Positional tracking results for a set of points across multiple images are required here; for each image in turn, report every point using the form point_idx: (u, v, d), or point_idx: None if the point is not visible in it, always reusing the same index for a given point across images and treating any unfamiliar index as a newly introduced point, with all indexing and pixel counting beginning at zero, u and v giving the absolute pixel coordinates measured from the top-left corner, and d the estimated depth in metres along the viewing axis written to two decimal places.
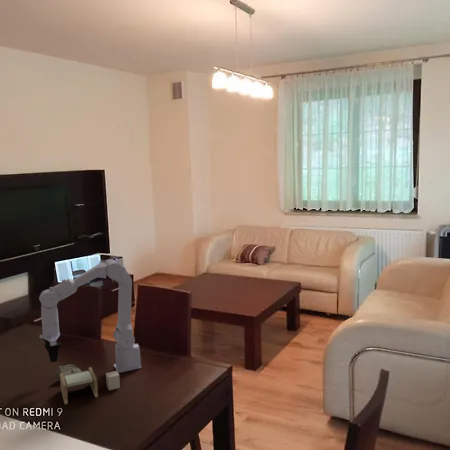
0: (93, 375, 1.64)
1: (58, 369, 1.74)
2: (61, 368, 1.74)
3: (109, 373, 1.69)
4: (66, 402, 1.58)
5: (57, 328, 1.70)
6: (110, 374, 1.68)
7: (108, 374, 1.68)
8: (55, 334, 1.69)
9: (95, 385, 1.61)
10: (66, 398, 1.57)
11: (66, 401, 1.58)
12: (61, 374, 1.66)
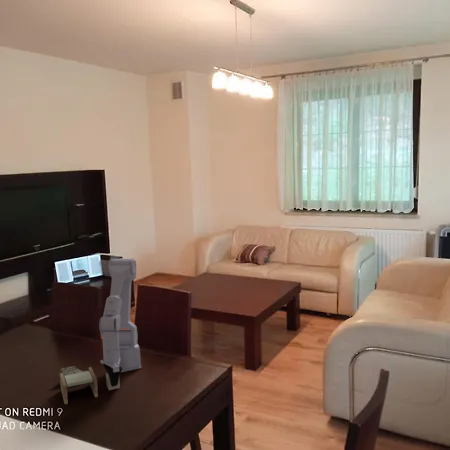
0: (93, 375, 1.64)
1: (60, 371, 1.72)
2: (63, 370, 1.72)
3: None
4: (66, 402, 1.58)
5: (118, 353, 1.67)
6: None
7: None
8: (116, 360, 1.66)
9: (95, 385, 1.61)
10: (66, 398, 1.57)
11: (66, 401, 1.58)
12: (61, 374, 1.66)
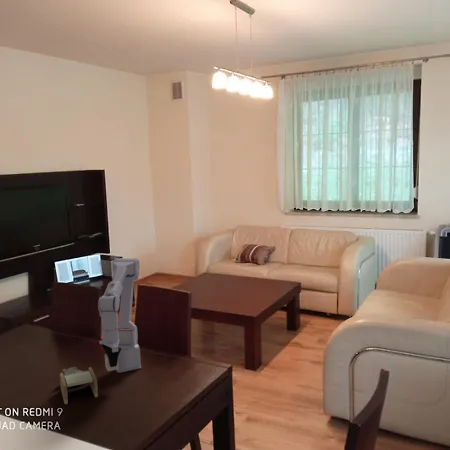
0: (93, 375, 1.64)
1: None
2: (65, 371, 1.71)
3: None
4: (66, 402, 1.58)
5: (117, 334, 1.66)
6: None
7: None
8: (115, 340, 1.65)
9: (95, 385, 1.61)
10: (66, 398, 1.57)
11: (66, 401, 1.58)
12: (61, 374, 1.66)
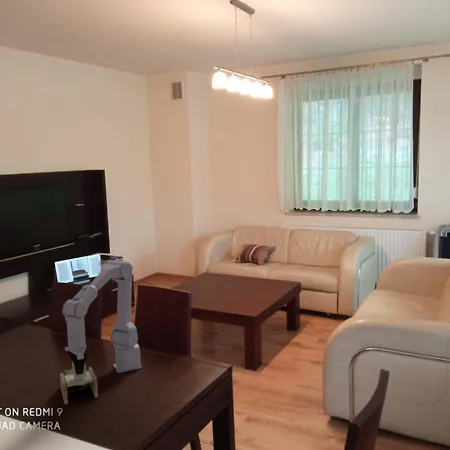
0: (93, 375, 1.64)
1: (64, 374, 1.70)
2: (67, 372, 1.70)
3: None
4: (66, 402, 1.58)
5: (84, 340, 1.59)
6: None
7: None
8: (81, 347, 1.58)
9: (95, 385, 1.61)
10: (66, 398, 1.57)
11: (66, 401, 1.58)
12: (61, 374, 1.66)
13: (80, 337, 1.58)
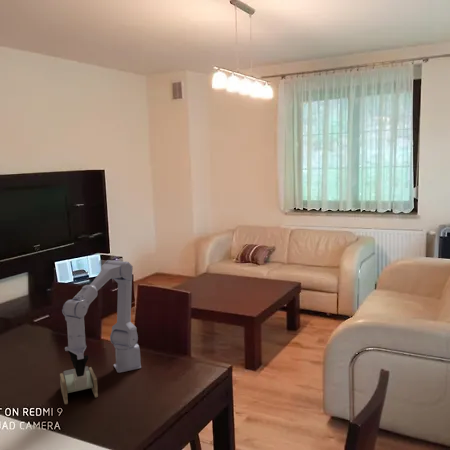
0: (93, 375, 1.64)
1: None
2: None
3: None
4: (66, 402, 1.58)
5: (84, 340, 1.59)
6: None
7: (75, 374, 1.59)
8: (81, 347, 1.58)
9: (95, 385, 1.61)
10: (66, 398, 1.57)
11: (66, 401, 1.58)
12: (61, 374, 1.66)
13: (80, 337, 1.58)
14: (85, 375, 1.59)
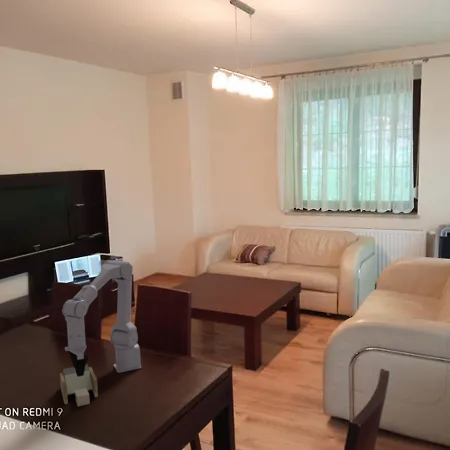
0: (93, 375, 1.64)
1: None
2: None
3: (80, 399, 1.56)
4: (66, 402, 1.58)
5: (84, 340, 1.59)
6: (81, 401, 1.56)
7: (79, 401, 1.56)
8: (81, 347, 1.58)
9: (95, 385, 1.61)
10: (66, 398, 1.57)
11: (66, 401, 1.58)
12: (61, 374, 1.66)
13: (80, 337, 1.58)
14: (88, 402, 1.57)
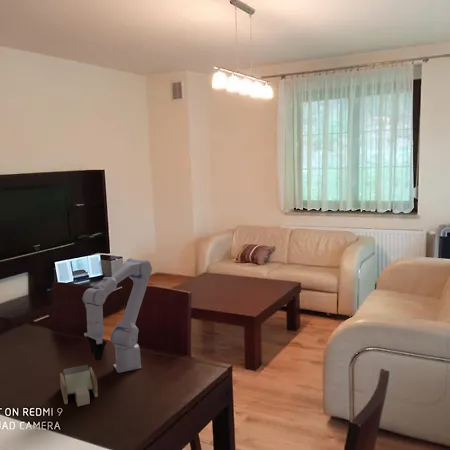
0: (93, 375, 1.64)
1: None
2: None
3: (80, 397, 1.56)
4: (66, 402, 1.58)
5: (102, 326, 1.69)
6: (81, 400, 1.56)
7: (79, 399, 1.56)
8: (100, 332, 1.68)
9: (95, 385, 1.61)
10: (66, 398, 1.57)
11: (66, 401, 1.58)
12: (61, 374, 1.66)
13: (99, 323, 1.68)
14: (88, 401, 1.57)
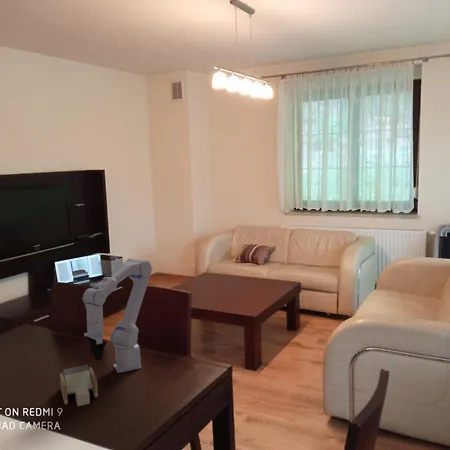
0: (93, 375, 1.64)
1: None
2: None
3: (80, 397, 1.56)
4: (66, 402, 1.58)
5: (102, 326, 1.69)
6: (81, 400, 1.56)
7: (79, 399, 1.56)
8: (100, 332, 1.68)
9: (95, 385, 1.61)
10: (66, 398, 1.57)
11: (66, 401, 1.58)
12: (61, 374, 1.66)
13: (99, 323, 1.68)
14: (88, 401, 1.57)
